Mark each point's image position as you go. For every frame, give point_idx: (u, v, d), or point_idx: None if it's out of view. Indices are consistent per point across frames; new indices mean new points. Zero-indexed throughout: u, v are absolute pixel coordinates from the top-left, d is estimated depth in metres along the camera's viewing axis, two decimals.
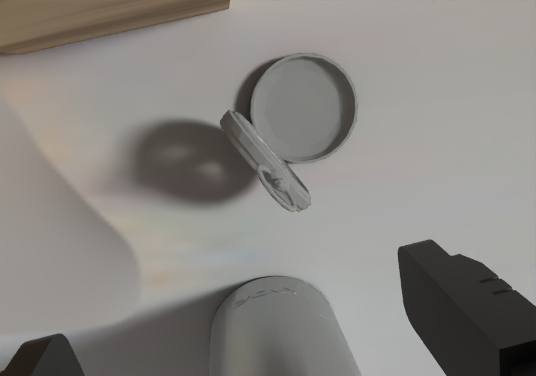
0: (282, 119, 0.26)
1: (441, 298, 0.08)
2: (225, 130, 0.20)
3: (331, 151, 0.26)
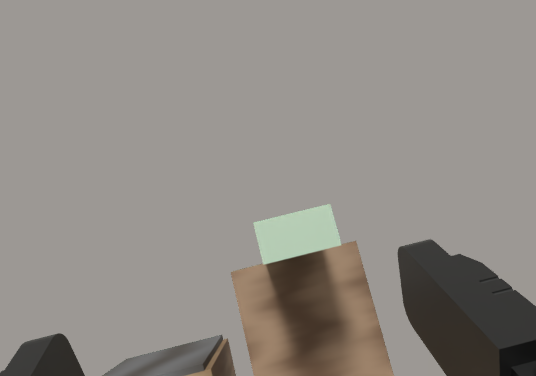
0: None
1: (441, 298, 0.08)
2: None
3: None
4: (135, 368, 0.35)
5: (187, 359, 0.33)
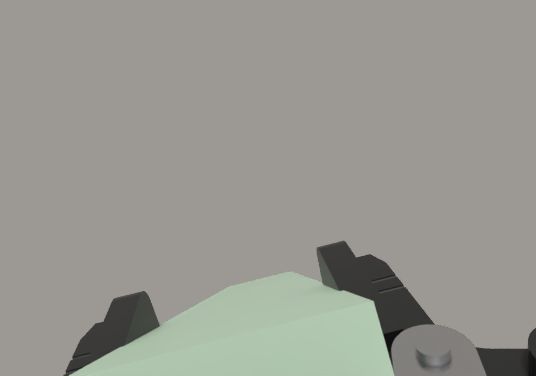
0: None
1: None
2: None
3: None
4: None
5: None
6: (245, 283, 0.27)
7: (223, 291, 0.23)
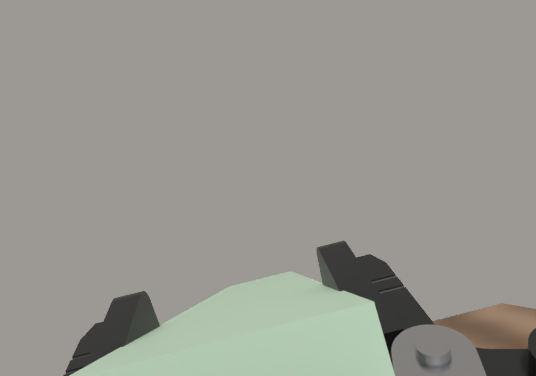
0: None
1: None
2: None
3: None
4: None
5: None
6: (245, 283, 0.27)
7: (223, 291, 0.23)
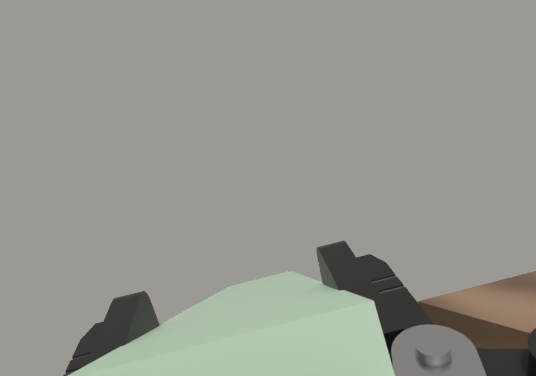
0: None
1: None
2: None
3: None
4: None
5: None
6: (245, 283, 0.27)
7: (223, 291, 0.23)
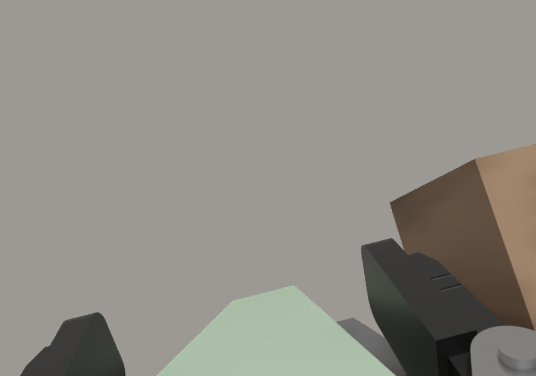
0: None
1: (394, 293, 0.08)
2: None
3: None
4: None
5: None
6: (249, 298, 0.27)
7: (227, 309, 0.23)
